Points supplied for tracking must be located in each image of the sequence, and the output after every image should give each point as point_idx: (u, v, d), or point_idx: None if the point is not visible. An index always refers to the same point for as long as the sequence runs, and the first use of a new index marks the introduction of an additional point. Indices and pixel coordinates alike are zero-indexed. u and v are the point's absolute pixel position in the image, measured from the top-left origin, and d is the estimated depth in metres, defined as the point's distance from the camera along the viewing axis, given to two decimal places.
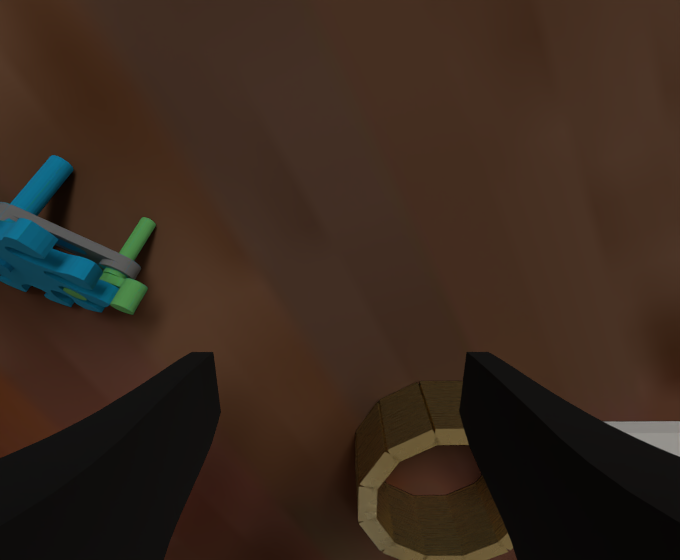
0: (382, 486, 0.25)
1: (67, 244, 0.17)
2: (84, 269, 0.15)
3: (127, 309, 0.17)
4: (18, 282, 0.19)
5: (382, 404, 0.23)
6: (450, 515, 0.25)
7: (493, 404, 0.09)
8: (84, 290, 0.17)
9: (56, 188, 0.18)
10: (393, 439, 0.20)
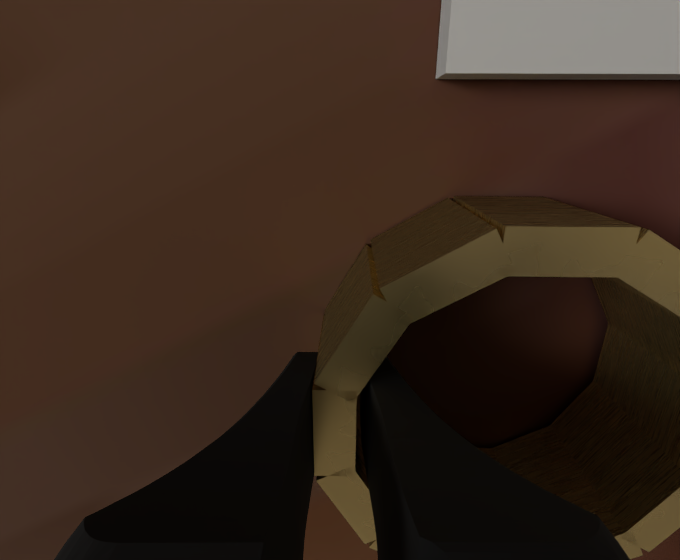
0: (541, 448, 0.13)
1: None
2: None
3: None
4: None
5: None
6: (639, 348, 0.11)
7: (368, 404, 0.09)
8: None
9: None
10: None
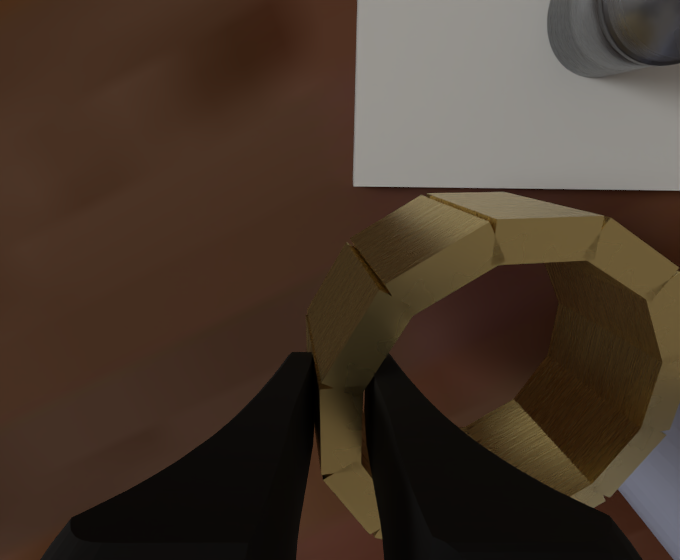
0: (508, 421, 0.14)
1: None
2: None
3: None
4: None
5: None
6: (589, 322, 0.13)
7: (374, 404, 0.09)
8: None
9: None
10: None
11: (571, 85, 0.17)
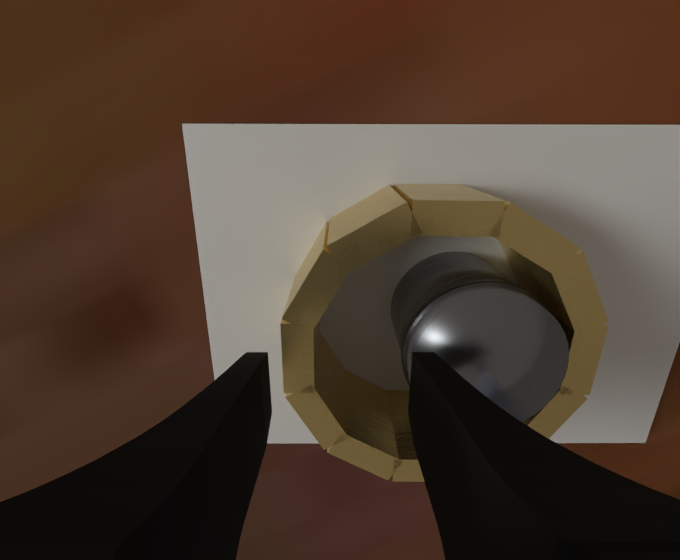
0: None
1: None
2: None
3: None
4: None
5: None
6: None
7: (429, 404, 0.09)
8: None
9: None
10: None
11: None
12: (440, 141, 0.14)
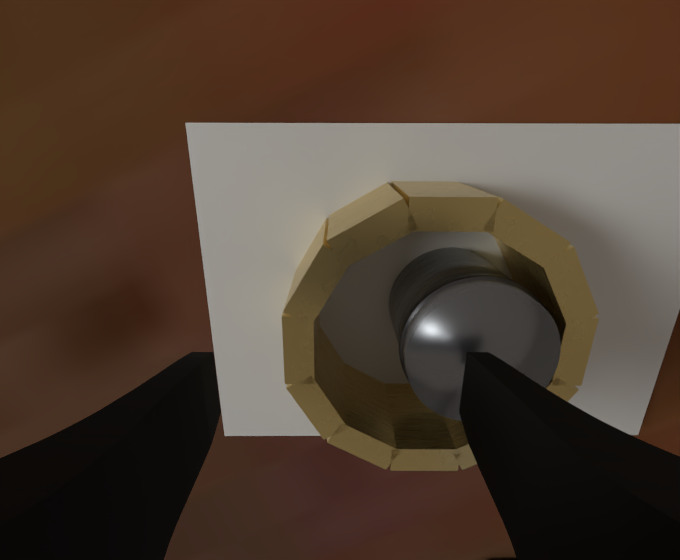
0: None
1: None
2: None
3: None
4: None
5: None
6: None
7: (493, 404, 0.09)
8: None
9: None
10: None
11: None
12: (437, 140, 0.14)
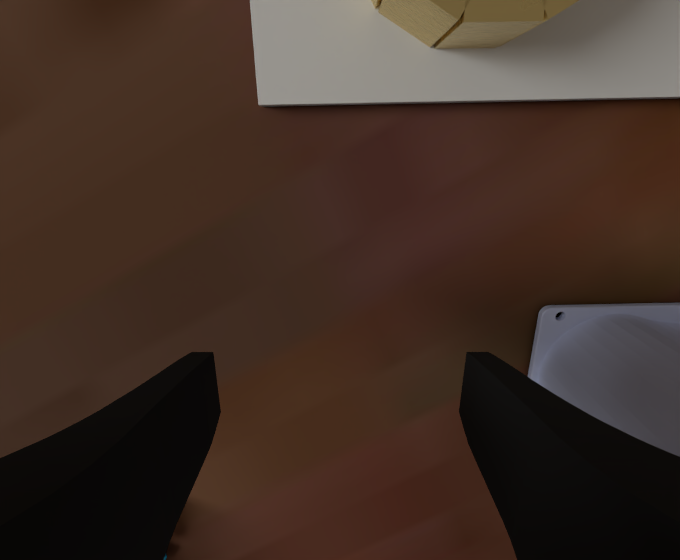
0: None
1: None
2: None
3: None
4: None
5: (374, 1, 0.15)
6: None
7: (493, 404, 0.09)
8: None
9: None
10: None
11: None
12: None
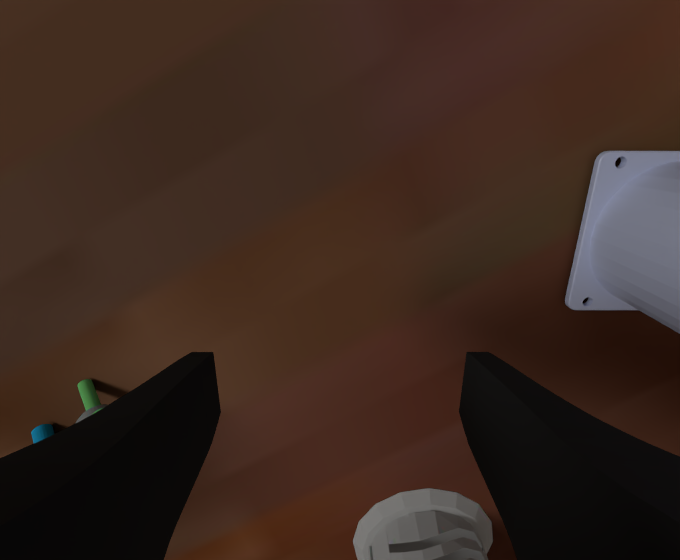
0: None
1: None
2: None
3: None
4: None
5: None
6: None
7: (493, 404, 0.09)
8: None
9: None
10: None
11: None
12: None
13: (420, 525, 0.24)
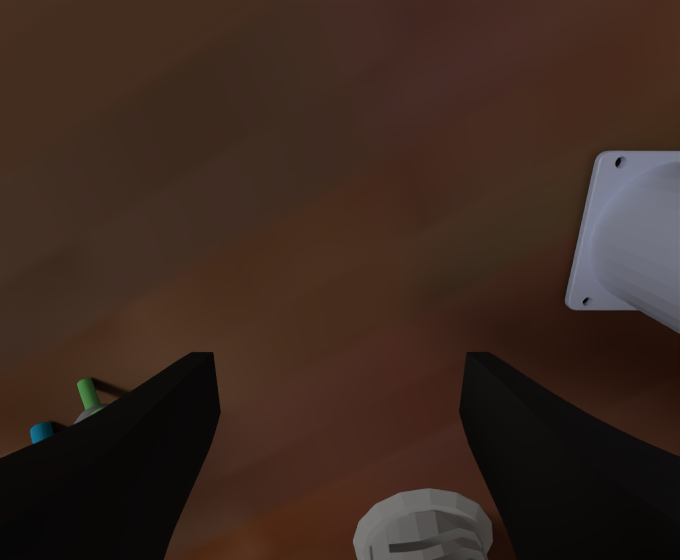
0: None
1: None
2: None
3: None
4: None
5: None
6: None
7: (493, 404, 0.09)
8: None
9: None
10: None
11: None
12: None
13: (420, 525, 0.24)
